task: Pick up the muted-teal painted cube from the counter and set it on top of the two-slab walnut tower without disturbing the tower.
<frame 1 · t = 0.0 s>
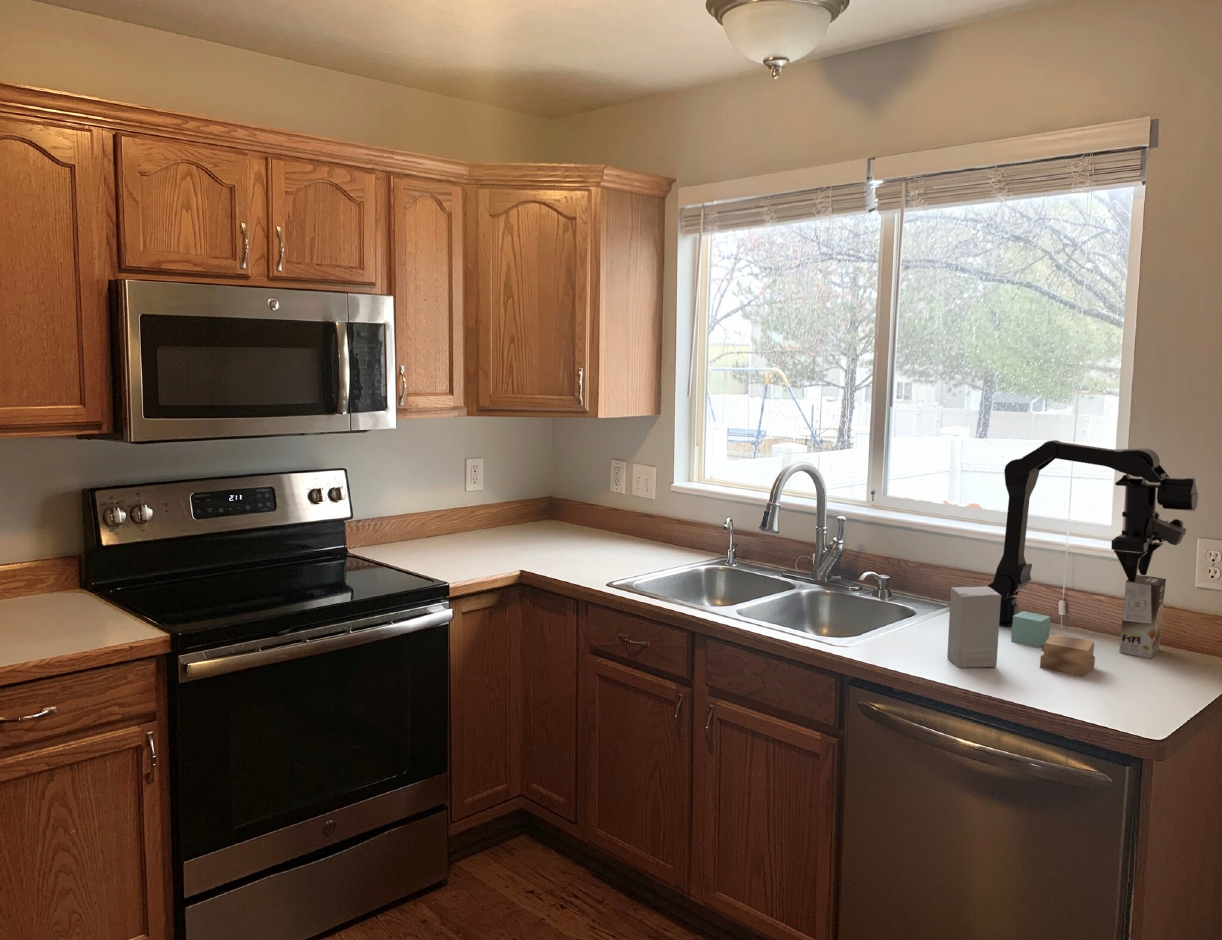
hand: (1137, 578, 205), 16 cm above the worktop, fingers closed on coffee box, 8 cm apart
tower top: (1068, 656, 193), point 2 cm above the worktop, touching tower base
teal cube: (1029, 642, 211), on the worktop
skincare box: (970, 664, 195), on the worktop
tower base: (1066, 670, 194), on the worktop, touching tower top
coffee box: (1139, 652, 206), on the worktop, touching gripper
when the fingers open (16 cm above the worktop, at t = 0.4 s): coffee box moves 4 cm, resting on teal cube.
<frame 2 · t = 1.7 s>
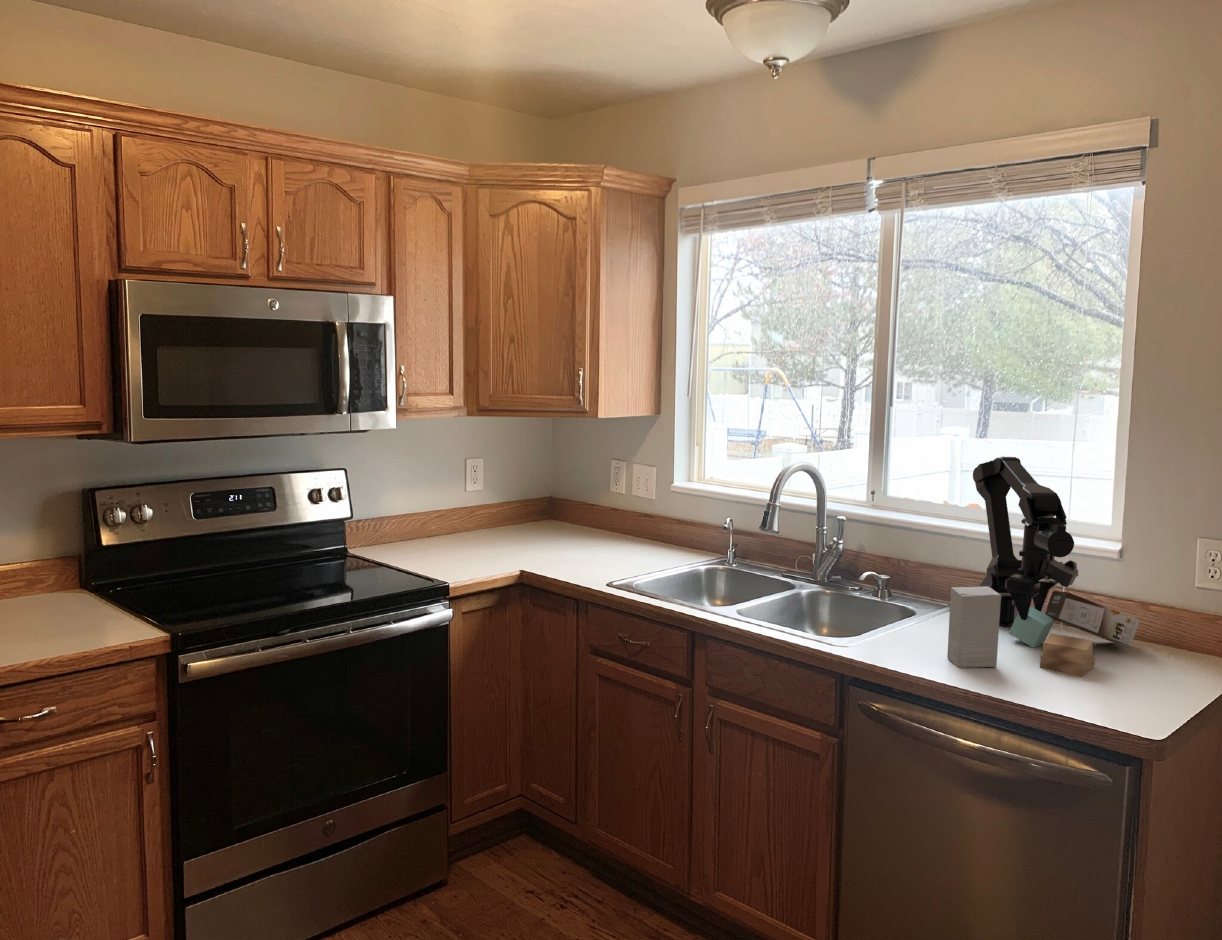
hand: (1031, 615, 211), 6 cm above the worktop, fingers open, 9 cm apart
teal cube: (1026, 637, 211), point 1 cm above the worktop, tilted 19°, touching coffee box
coffee box: (1127, 632, 208), point 4 cm above the worktop, touching teal cube
everything else where it was.
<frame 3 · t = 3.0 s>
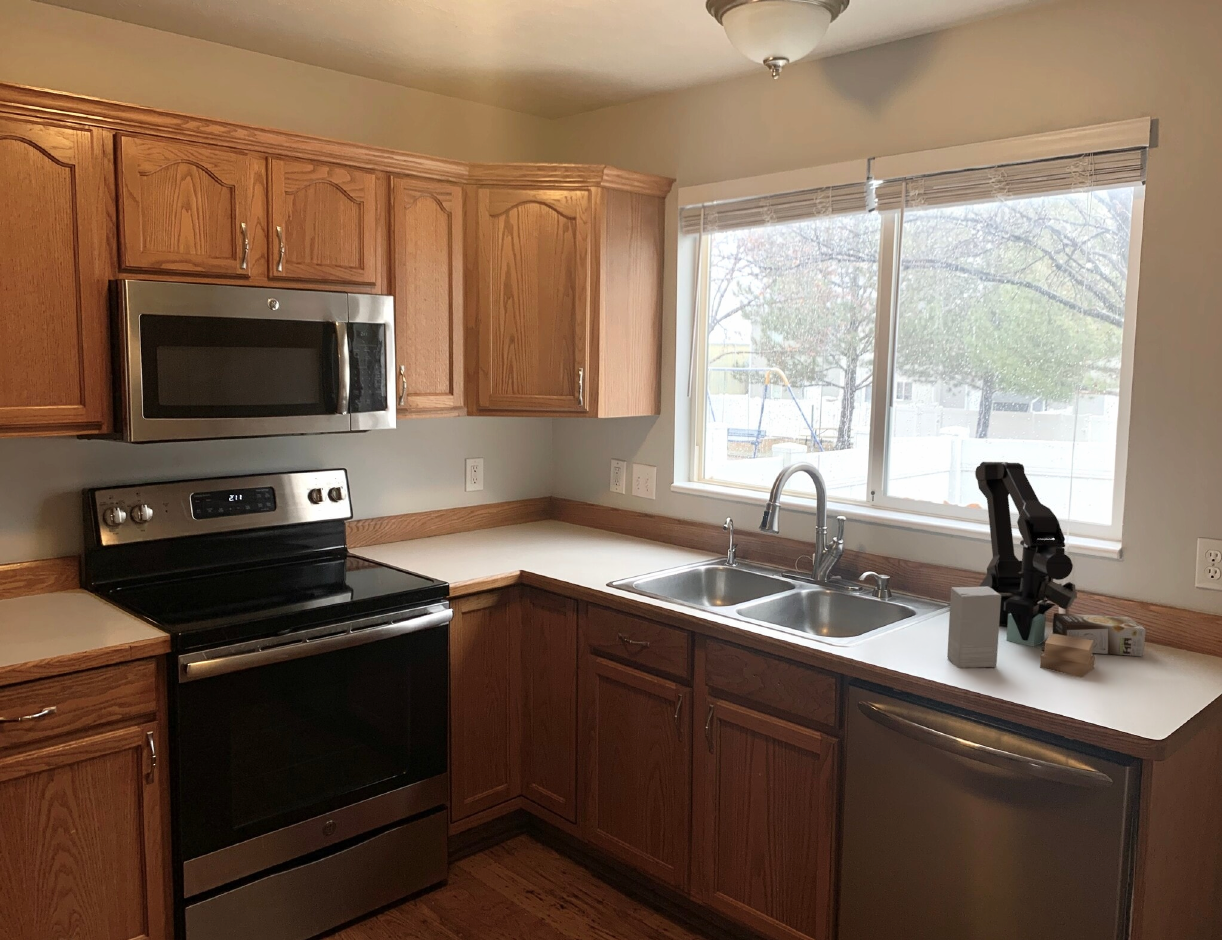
hand: (1030, 637, 211), 1 cm above the worktop, fingers closed on teal cube, 6 cm apart
teal cube: (1025, 640, 212), on the worktop, touching gripper
coffee box: (1137, 636, 206), point 3 cm above the worktop
everything else where it was.
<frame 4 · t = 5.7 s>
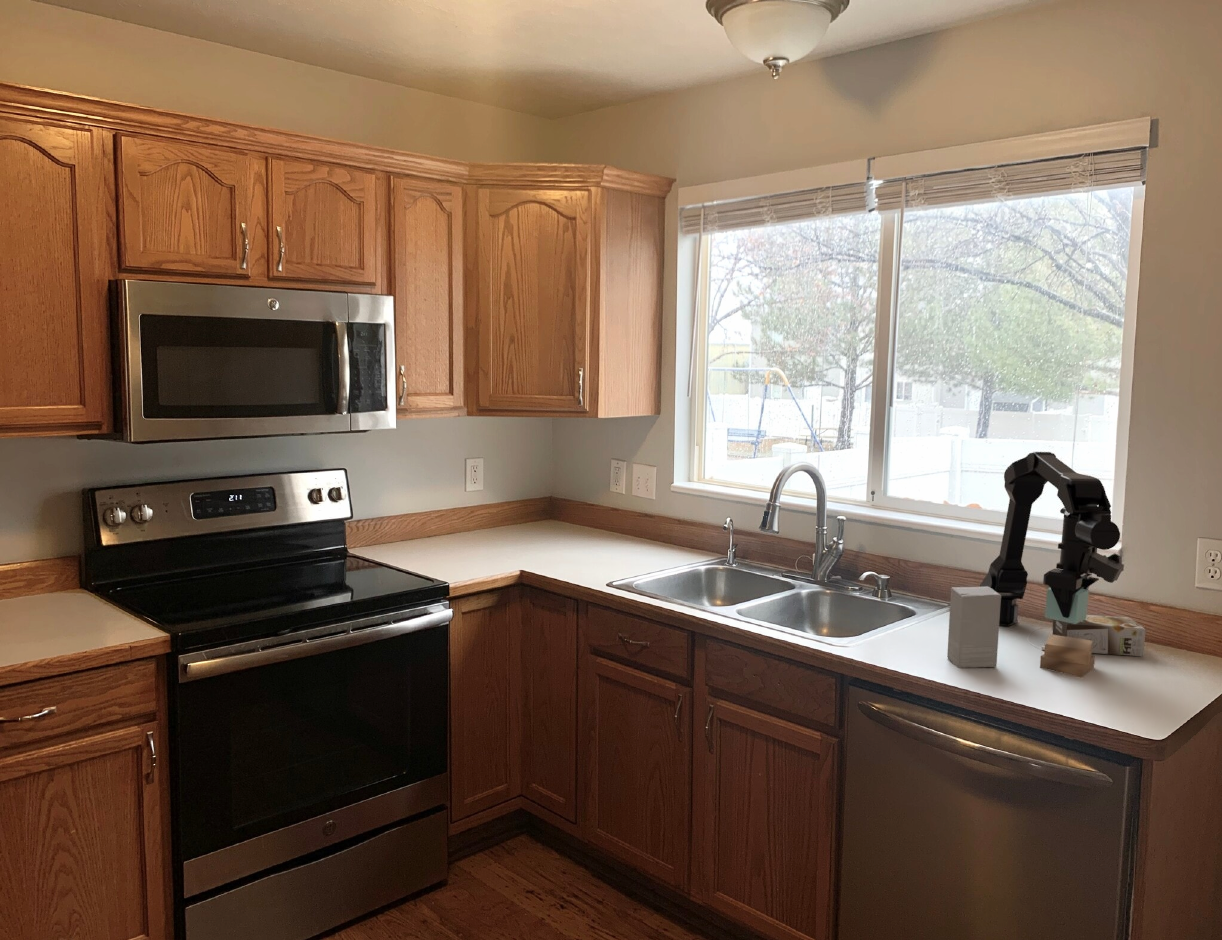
hand: (1071, 614, 192), 11 cm above the worktop, fingers closed on teal cube, 6 cm apart
teal cube: (1065, 618, 193), point 10 cm above the worktop, touching gripper
everything else where it was.
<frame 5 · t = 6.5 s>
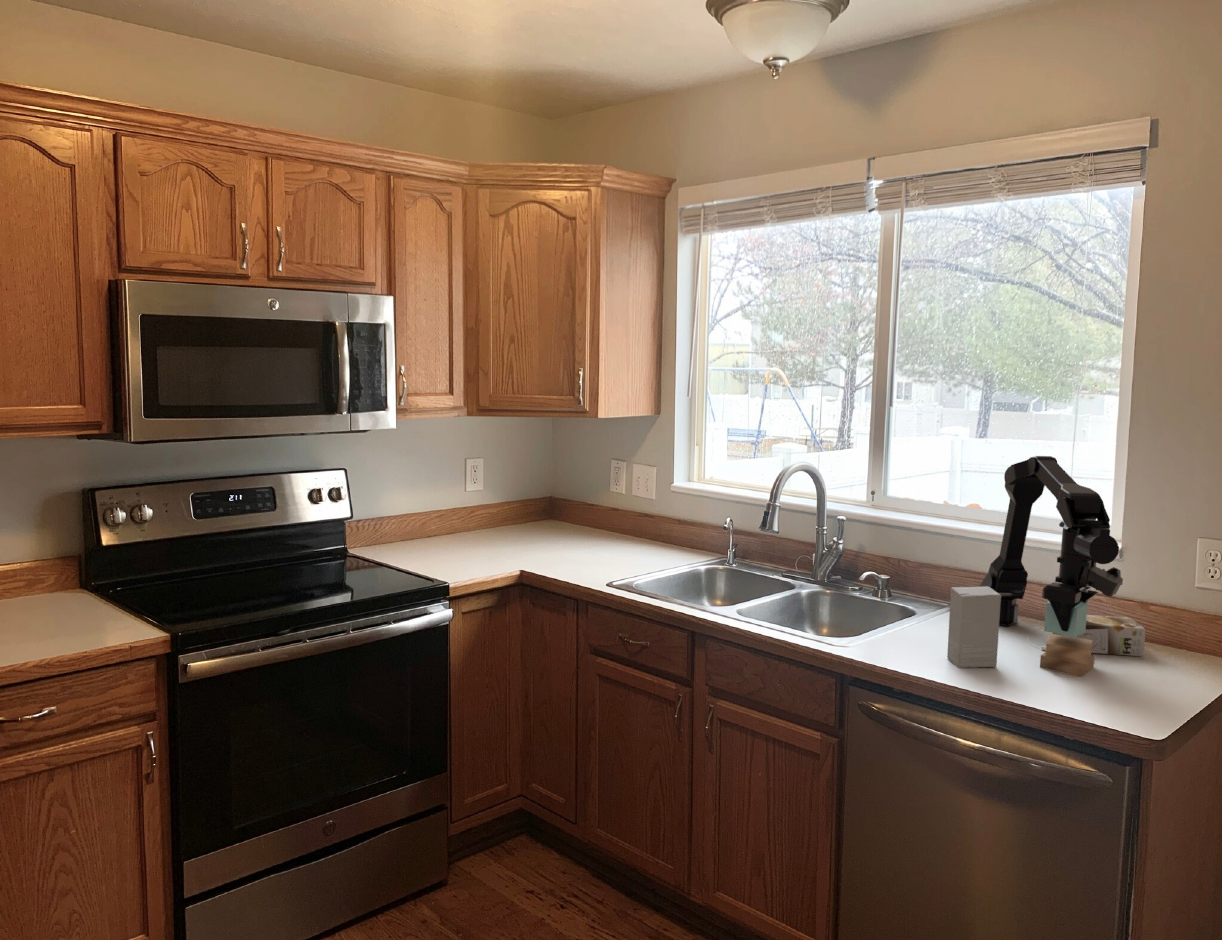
hand: (1070, 627, 192), 8 cm above the worktop, fingers closed on teal cube, 6 cm apart
teal cube: (1064, 631, 193), point 7 cm above the worktop, touching gripper
everything else where it was.
when the fingers open (8 cm above the worktop, at t = 7.0 s): teal cube drops 2 cm, point 6 cm above the worktop.
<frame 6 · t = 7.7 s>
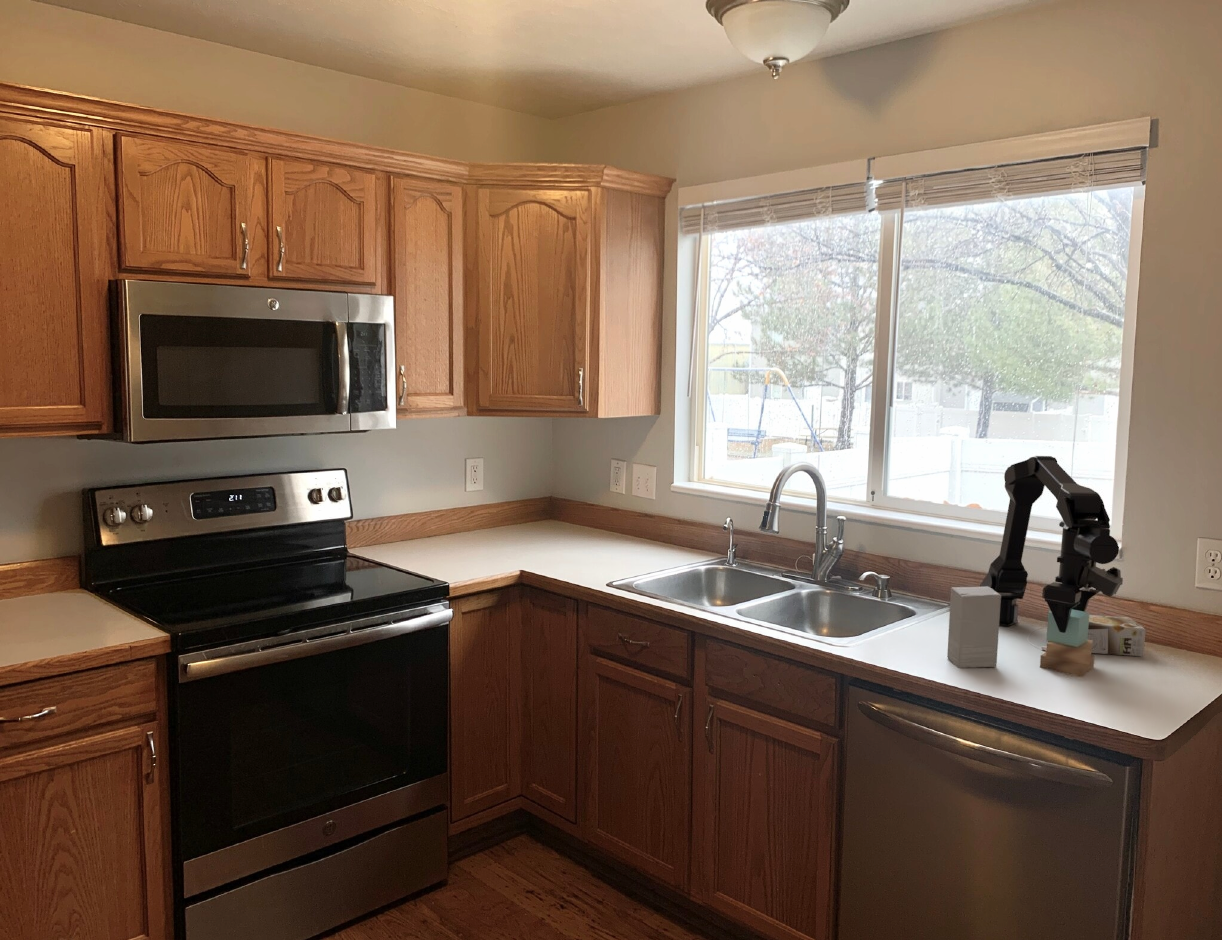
hand: (1070, 627, 192), 8 cm above the worktop, fingers open, 9 cm apart
teal cube: (1066, 640, 193), point 6 cm above the worktop
everything else where it was.
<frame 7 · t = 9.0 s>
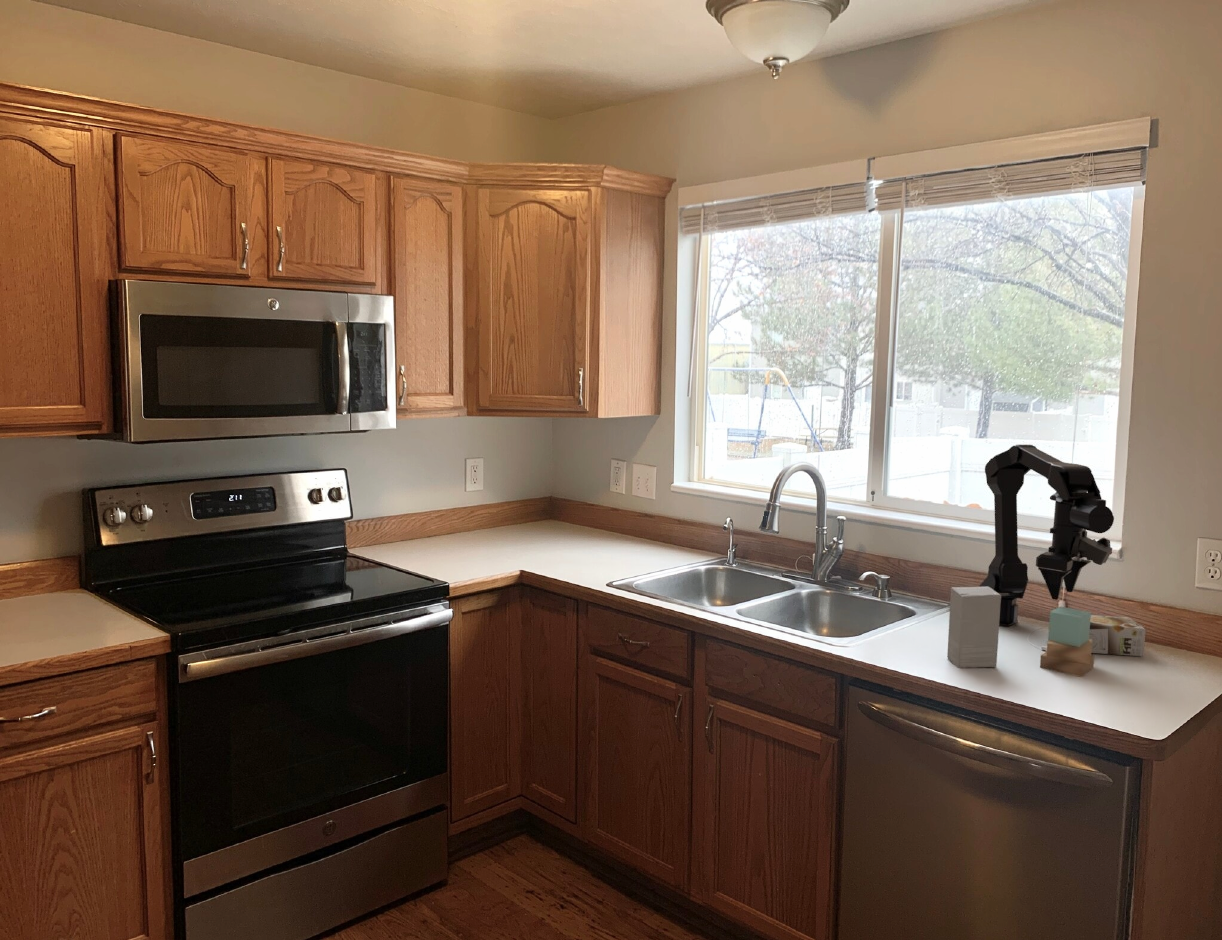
hand: (1062, 595, 203), 12 cm above the worktop, fingers open, 9 cm apart
nothing on the worktop moved.
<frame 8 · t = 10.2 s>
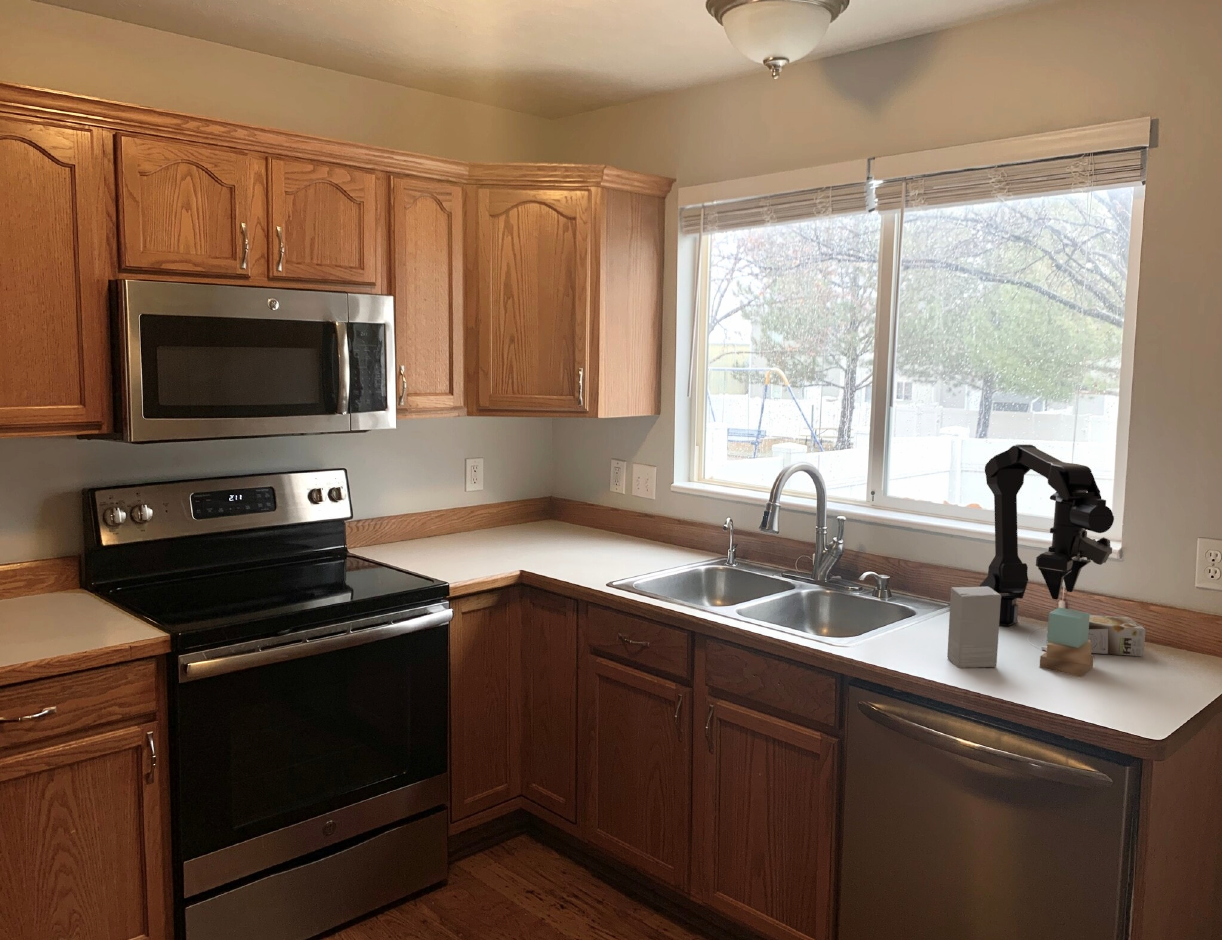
hand: (1062, 595, 203), 13 cm above the worktop, fingers open, 9 cm apart
nothing on the worktop moved.
at the end: teal cube 0.2 cm off-centre on the tower base, point 6.0 cm above the tower base's base; teal cube tilted 0°; tower top moved 0.6 cm from its start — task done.
